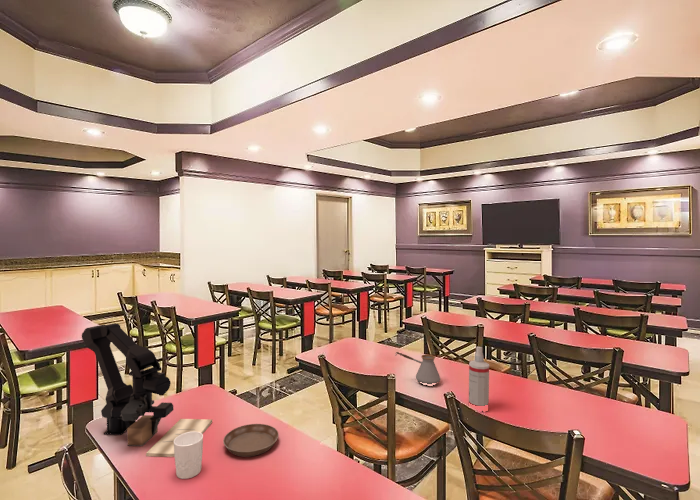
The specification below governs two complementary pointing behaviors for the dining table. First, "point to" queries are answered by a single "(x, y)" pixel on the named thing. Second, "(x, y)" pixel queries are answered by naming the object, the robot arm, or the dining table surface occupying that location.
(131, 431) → the block
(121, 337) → the robot arm
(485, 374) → the grey nozzle bottle
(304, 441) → the dining table surface
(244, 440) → the plant saucer
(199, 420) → the board
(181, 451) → the white cup
